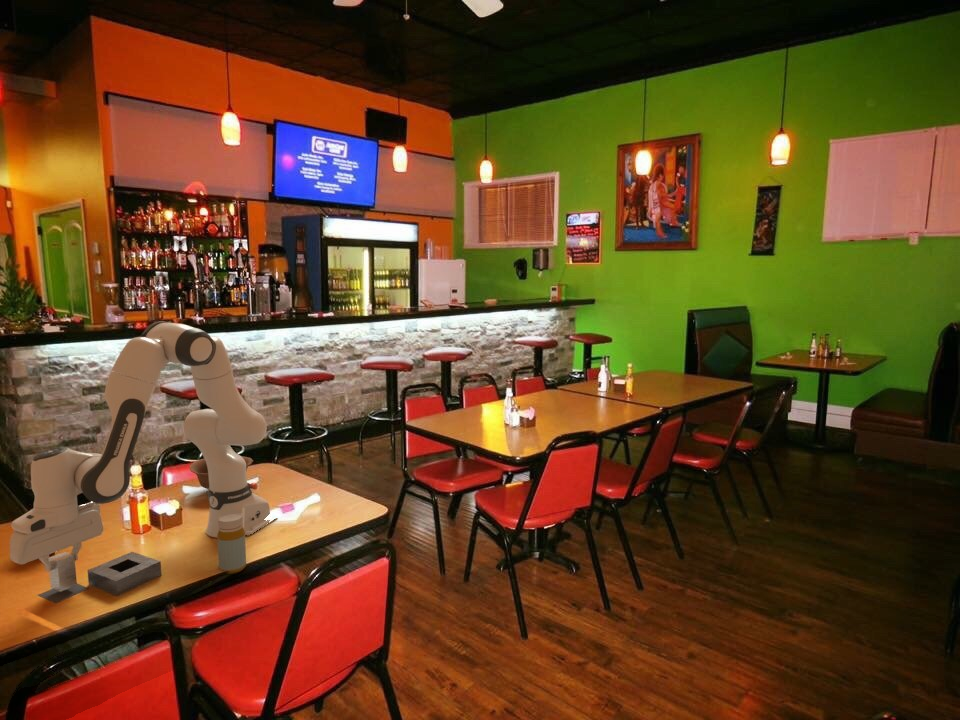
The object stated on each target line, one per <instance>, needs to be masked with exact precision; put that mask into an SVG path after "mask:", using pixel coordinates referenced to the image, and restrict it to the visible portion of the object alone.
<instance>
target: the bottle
mask: <svg viewBox="0 0 960 720" xmlns="http://www.w3.org/2000/svg"><path fill="white" fill-rule="evenodd" d="M218 526H219V532H218V535H217V553H218V554H217V555H218V568H219V570H220V571H222V572H225V574H226V575H231V574H232V575H233V574H237V573H239V572H241V571H243V570H244V569H245V568H246V566H247V551H246V550H247V548H246V536H245V530H244V528H243V517H242V514H240V513H228V514H224V515H222V516H220V517H219V518H218Z"/></svg>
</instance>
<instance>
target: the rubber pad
mask: <svg viewBox="0 0 960 720" xmlns="http://www.w3.org/2000/svg"><path fill="white" fill-rule="evenodd" d="M89 589H90V588H89V587H87V586H84V585H82V584H80V583H77V585H75V586H72V587H70V588H68V589H66V590H63V591H61V592H60V591H57V590H55V589H52V588H51V589H49V590H46V591H44V592H41V593H39V594H37V596H38V597H40V598H43V599H45V600H47V601H49V602H52V603H53V604H57V603H60V602H62V601H64V600H66V599H69V598H72V597H73V596H75V595H78V594H81V593H82V592H85V591H87V590H89Z"/></svg>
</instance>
